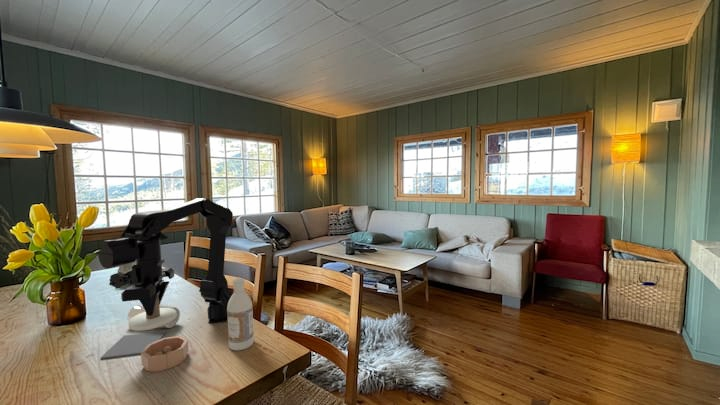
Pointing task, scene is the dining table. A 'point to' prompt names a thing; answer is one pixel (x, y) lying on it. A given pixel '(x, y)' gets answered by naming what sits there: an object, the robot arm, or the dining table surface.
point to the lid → (152, 318)
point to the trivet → (132, 344)
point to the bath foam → (240, 318)
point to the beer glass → (140, 309)
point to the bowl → (164, 354)
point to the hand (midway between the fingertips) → (152, 312)
